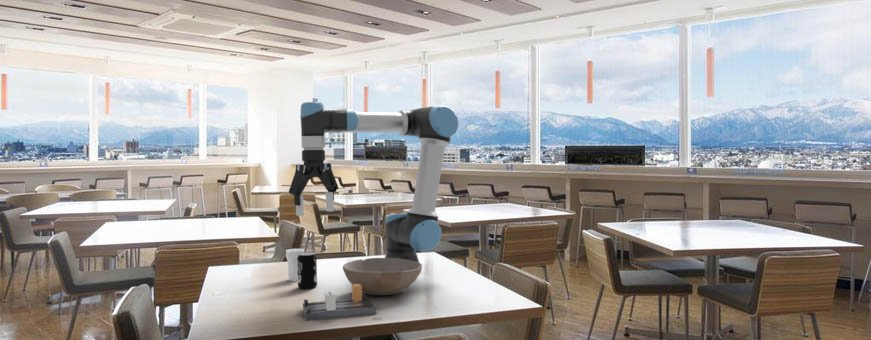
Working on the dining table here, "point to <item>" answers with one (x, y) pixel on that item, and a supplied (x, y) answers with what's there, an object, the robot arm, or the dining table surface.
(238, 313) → the dining table surface
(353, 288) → the orange fader
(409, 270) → the bowl
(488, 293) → the dining table surface
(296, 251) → the cup
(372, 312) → the panel
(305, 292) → the dining table surface
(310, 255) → the beverage can
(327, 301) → the white fader
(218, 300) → the dining table surface
